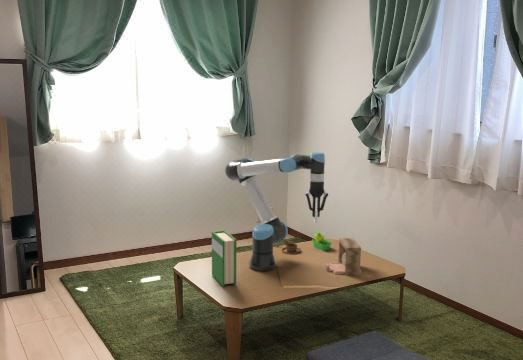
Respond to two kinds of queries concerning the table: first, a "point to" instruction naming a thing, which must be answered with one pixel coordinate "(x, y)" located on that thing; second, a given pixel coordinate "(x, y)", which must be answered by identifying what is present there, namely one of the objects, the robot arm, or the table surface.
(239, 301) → the table surface
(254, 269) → the robot arm
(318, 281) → the table surface
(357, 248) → the shelf
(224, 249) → the hardback book
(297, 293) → the table surface
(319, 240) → the fruit basket
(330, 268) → the tray
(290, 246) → the place setting
